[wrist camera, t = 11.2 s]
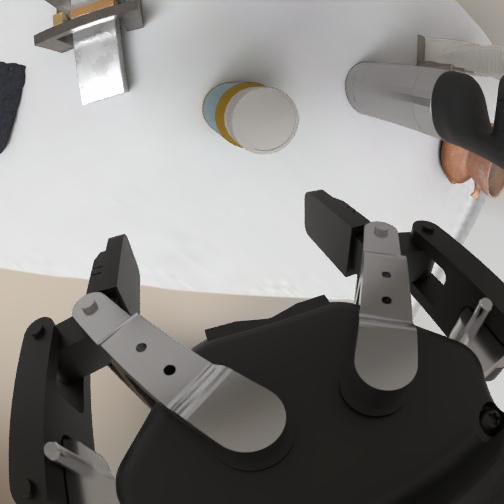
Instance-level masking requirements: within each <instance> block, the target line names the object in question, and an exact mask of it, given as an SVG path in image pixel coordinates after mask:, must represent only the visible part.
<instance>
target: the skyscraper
mask: <svg viewBox="0 0 504 504" xmlns="http://www.w3.org/2000/svg"><path fill="white" fill-rule="evenodd" d="M417 66H422V67H430V68H437V69H444V70H450V71H456V72H461V73H465V74H467V75H473V76H485V77H494V78H496V79H498V80H500V79H501V77H502V76H503V75H504V46H492V45H485V46H481V45H477V44H473V43H469V42H464V41H457V40H450V39H440V38H425V37H423V36H421V35H418V55H417Z"/></svg>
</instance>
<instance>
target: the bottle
mask: <svg viewBox="0 0 504 504" xmlns="http://www.w3.org/2000/svg"><path fill="white" fill-rule="evenodd" d="M203 115H204V119H205V120H206V122H207V123H208V125H209V126H210V127H211V128H212V129H214V130H215V131H216V132H217V133H219V134H220V135H221V136H222V137H224V138H225V139H226V140H227V141H229V142H230V143H232V144H233V145H236V146H239V147H242V148H245V149H246V150H248V151H250V152H253V153H257V154H270V153H274V152H277V151H279V150H281V149H283V148H284V147H286V146H287V145H288V144H289V143H290V142H291V140H292V139H293V137H294V136H295V134H296V131H297V128H298V121H299V118H298V111H297V108H296V106H295V104H294V102H293V101H292V100H291V98H290V97H289V96H288V95H287V94H285V93H284V92H282V91H281V90H278V89H274V88H271V87H266V86H264V85H262V84H259V83H252V82H238V83H225V84H221V85H218V86H217V87H215V88H213V89H212V90H211V91H210V92H209V93H208V94H207V96H206V98H205V100H204V102H203Z"/></svg>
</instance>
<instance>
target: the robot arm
mask: <svg viewBox="0 0 504 504" xmlns="http://www.w3.org/2000/svg"><path fill="white" fill-rule="evenodd" d="M346 94H347V97H348V100H349V102H350V104H351V105H352V106H353V108H354V109H355V110H357V111H358V112H360V113H362V114H365V115H368V116H372V117H375V118H379V119H382V120H385V121H389V122H392V123H395V124H398V125H401V126H404V127H407V128H410V129H413V130H416V131H419V132H422V133H425V134H427V135H430V136H433V137H436V138H438V139H441V140H443V141H446V142H448V143H451V144H454V145H456V146H459V147H461V148H464V149H466V150H468V151H470V152H473V153H475V154H477V155H479V156H481V157H483V158H485V159H486V160H488V161H490V162H492V163H493V164H495V165H497V166H498V167H500V168H502V169H503V170H504V75H503V76H502V77H501V79H500V82H499V88H498V97H497V101H498V102H497V105H496V113H495V120H494V126H493V128H494V129H492V126H491V123H490V120H489V116H488V111H487V106H486V101H485V97H484V94H483V92H482V89H481V87H480V86H479V84H478V83H477V81H476V80H475V79H474V78H472V77H471V76H469V75H467V74H465V73H461V72H456V71H450V70H444V69H437V68H430V67H422V66H414V65H404V64H392V63H377V62H362V63H359V64H357V65H355V66H354V67H353V68H352V69H351V70H350V72H349V74H348V76H347V79H346ZM305 228H306V231H307V234H308V235H309V237H310V238H311V239H312V240H313V241H314V242H315V243H316V244H317V245H318V247H319V248H320V249H321V250H322V251H323V252H324V253H325V254H326V255H327V257H328V258H329V259H330V260H331V261H332V262H333V263H334V264H335V266H336V267H337V268H338V269H339V270H340V271H341V272H342V274H343V275H344V276H345V277H348V276H351V275H354V274H357V281H356V289H355V297H354V304H353V303H347V302H329V301H328V299H327V298H326V297H325V295H322V296H318V297H315V298H312V299H310V300H306V301H303V302H300V303H297V304H295V305H294V306H292V307H290V308H288V309H286V310H285V311H283V312H281V313H279V314H277V315H276V316H274V317H272V318H269V319H261V320H251V321H250V320H249V321H237V322H233V323H229V324H225V325H221V326H218V327H214V328H210V329H207V330H205V333H206V337H207V340H204V341H203V342H201V343H199V344H198V345H196V346H195V347H193V348H192V349H191V350H190V349H188V348H187V347H185V346H184V345H182V344H181V343H179V342H178V341H176V340H175V339H173V338H172V337H170V336H169V335H168V334H166V333H164V332H163V331H162V330H161V329H159V328H158V327H156V326H155V325H153V324H152V323H151V322H149V321H148V320H146V319H145V318H144V317H142V316H141V315H140V274H139V269H138V266H137V263H136V260H135V257H134V255H133V252H132V249H131V246H130V244H129V241H128V238H127V236H126V235H125V234H123V235H119V236H116V237H112V238H109V239H108V243H107V247H106V251H104V252H100V254H99V255H98V256H97V258H96V259H95V260H94V264H93V267H92V269H93V270H92V272H91V276H90V280H89V284H88V289H87V293H86V295H85V296H83V297H82V298H81V299H79V300H78V301H77V302H76V304H75V305H74V307H73V310H72V315H73V316H72V317H70V318H69V319H67V320H65V321H63V322H61V323H59V324H57V325H55V323H54V322H53V321H52V319H51V318H48V317H42V318H39V319H38V320H36V321H34V322H33V323H32V324H31V325H30V326H29V327H28V328H27V330H26V332H25V335H24V339H23V343H22V347H21V352H20V357H19V362H18V367H17V373H16V379H15V385H14V392H13V399H12V408H11V419H10V433H9V482H10V491H11V494H12V497H13V499H14V501H15V502H16V504H504V412H502V411H501V410H500V409H499V408H498V407H497V406H496V404H495V403H494V401H493V399H492V397H491V395H490V392H489V390H488V387H487V384H486V381H491V380H493V379H495V378H496V376H497V375H498V374H499V373H500V372H501V370H502V369H503V368H504V283H503V282H502V281H501V280H500V279H499V278H498V277H497V276H496V275H495V274H494V273H493V272H492V271H490V269H488V268H487V267H486V266H485V265H484V264H483V263H482V262H481V261H480V260H478V259H477V258H476V257H475V256H474V255H473V254H471V253H470V252H469V251H468V250H467V249H466V248H465V247H463V246H462V245H461V244H460V243H459V242H457V241H456V240H455V239H454V238H452V237H451V236H450V235H449V234H447V233H446V232H445V231H444V230H442V229H441V228H440V227H439V226H437V225H436V224H434V223H431V222H428V221H416V222H414V223H413V226H412V231H411V232H404V233H398V231H397V229H396V228H395V227H394V226H392V225H390V224H388V223H385V222H378V221H376V222H370V221H369V220H368V219H366V218H365V217H364V216H362V215H361V214H360V213H358V212H356V210H355V209H353V208H352V207H350V206H349V205H348V204H347V203H345V202H344V201H341V200H339V199H336V198H333V197H332V196H330V195H329V194H328V193H326V192H325V191H324V190H317V191H311V192H307V193H306V194H305ZM434 262H436V263H437V264H438V265H439V266H440V267H441V268H442V269H443V270H444V272H445V274H446V281H445V284H444V285H443V284H442V283H441V282H440V281H439V280H438V279H437V278H436V277H435V276H434V275H433V274H432V273H431V271H432V268H433V265H434ZM411 294H412V295H413V297H414V298H415V299H416V300H417V301H418V302H419V303H420V305H421V306H422V307H423V308H424V309H425V311H426V312H427V313H428V314H429V315H430V316H431V318H432V319H433V320H434V321H435V322H436V324H437V325H438V326H439V327H440V328H441V330H442V331H443V332H444V334H445V335H446V336H447V337H445V336H442V335H440V334H437V333H434V332H431V331H429V330H426V329H423V328H420V327H418V326H415V325H414V324H413V321H412V305H411ZM105 366H108V367H109V368H110V369H111V370H112V371H113V372H114V373H115V374H116V375H117V376H118V377H119V378H120V379H121V380H122V381H123V382H124V383H125V384H126V385H127V386H128V387H129V388H130V389H131V390H132V391H133V392H134V393H135V394H136V395H137V396H138V397H139V398H140V399H141V400H142V401H143V402H144V403H145V404H146V405H147V406H148V407H149V408H150V409H151V412H150V413H149V415H148V417H147V419H146V420H145V422H144V424H143V425H142V427H141V429H140V431H139V432H138V434H137V436H136V438H135V439H134V441H133V443H132V444H131V446H130V448H129V450H128V452H127V453H126V455H125V457H124V458H123V460H122V462H121V464H120V466H119V468H118V471H117V475H116V479H115V478H114V477H113V475H112V473H111V471H110V468H109V465H108V463H107V461H106V460H105V459H104V458H103V457H102V456H101V455H99V454H98V453H96V452H95V449H94V439H93V428H92V414H91V395H90V394H91V393H90V374H91V373H93V372H95V371H97V370H99V369H101V368H103V367H105Z"/></svg>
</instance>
